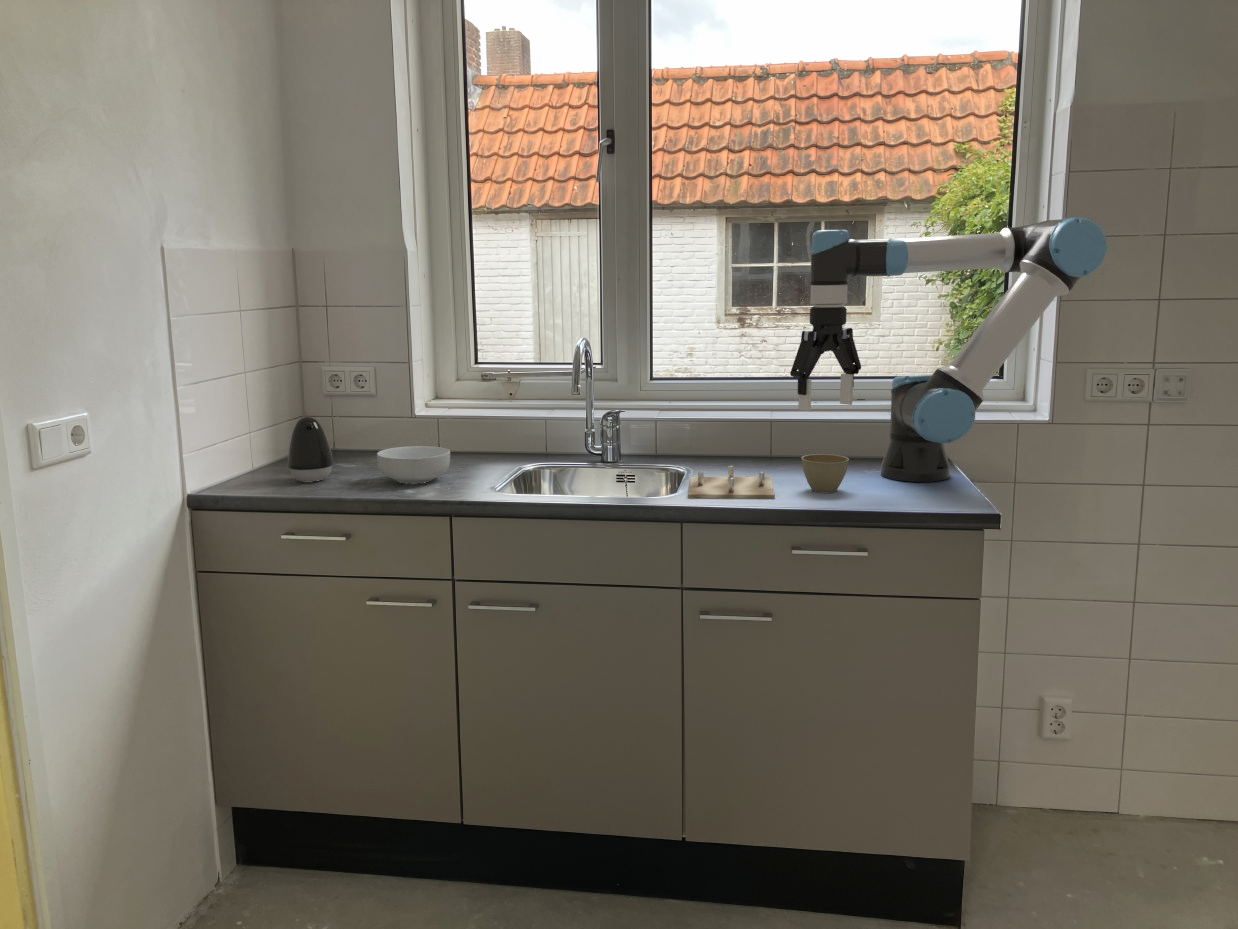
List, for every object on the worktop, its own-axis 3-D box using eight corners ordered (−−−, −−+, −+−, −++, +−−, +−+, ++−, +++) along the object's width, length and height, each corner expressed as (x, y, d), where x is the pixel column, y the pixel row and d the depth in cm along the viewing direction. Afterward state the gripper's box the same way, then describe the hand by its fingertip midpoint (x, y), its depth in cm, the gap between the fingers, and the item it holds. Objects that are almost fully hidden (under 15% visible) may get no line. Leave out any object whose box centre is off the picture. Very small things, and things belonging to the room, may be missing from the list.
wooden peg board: (770, 480, 227) (770, 464, 227) (774, 498, 210) (774, 480, 209) (691, 480, 229) (690, 463, 229) (688, 498, 212) (688, 480, 211)
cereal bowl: (435, 490, 224) (433, 458, 223) (366, 488, 227) (364, 457, 226) (462, 474, 240) (460, 445, 239) (397, 473, 244) (395, 444, 242)
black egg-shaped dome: (291, 486, 230) (285, 421, 227) (287, 478, 239) (282, 415, 236) (336, 482, 233) (332, 417, 231) (331, 474, 243) (327, 412, 240)
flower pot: (811, 497, 211) (811, 463, 209) (793, 487, 220) (794, 455, 219) (855, 494, 213) (856, 461, 211) (836, 484, 222) (837, 452, 221)
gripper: (851, 303, 220) (848, 399, 224) (774, 307, 204) (772, 411, 208) (880, 304, 214) (876, 403, 218) (802, 308, 198) (800, 414, 203)
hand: (825, 407), depth 213 cm, fingers open, 13 cm apart
